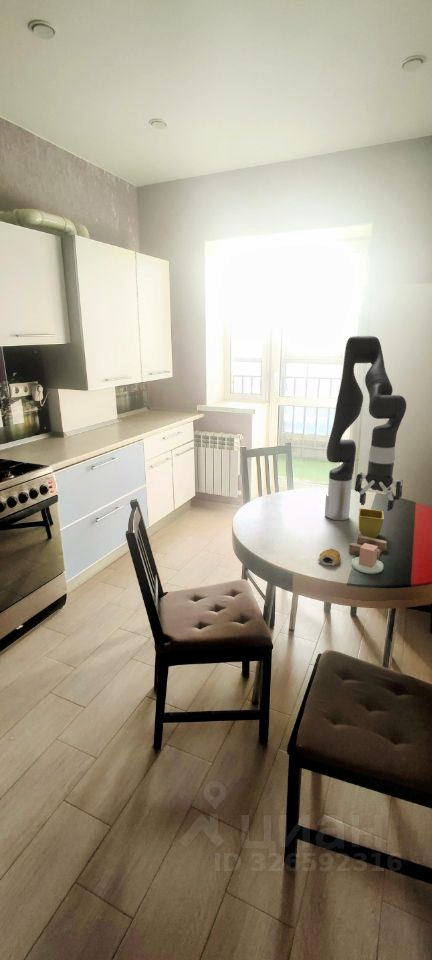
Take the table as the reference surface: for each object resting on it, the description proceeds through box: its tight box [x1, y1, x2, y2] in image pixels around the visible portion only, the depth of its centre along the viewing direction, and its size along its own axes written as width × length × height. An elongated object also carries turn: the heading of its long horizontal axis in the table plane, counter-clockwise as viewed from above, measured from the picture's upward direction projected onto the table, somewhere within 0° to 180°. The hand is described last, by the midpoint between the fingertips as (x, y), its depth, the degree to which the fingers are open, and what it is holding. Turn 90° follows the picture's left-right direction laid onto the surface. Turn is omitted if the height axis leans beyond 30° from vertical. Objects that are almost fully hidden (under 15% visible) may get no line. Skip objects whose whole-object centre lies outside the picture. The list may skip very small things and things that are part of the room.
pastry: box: [318, 548, 341, 567], centre depth 151 cm, size 9×7×4 cm
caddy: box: [348, 534, 388, 560], centre depth 156 cm, size 10×10×3 cm
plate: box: [351, 556, 384, 575], centre depth 146 cm, size 10×10×1 cm
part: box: [358, 543, 378, 568], centre depth 145 cm, size 4×4×6 cm
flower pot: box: [358, 508, 385, 539], centre depth 168 cm, size 9×9×9 cm
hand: (376, 507), depth 144 cm, fingers open, 8 cm apart
